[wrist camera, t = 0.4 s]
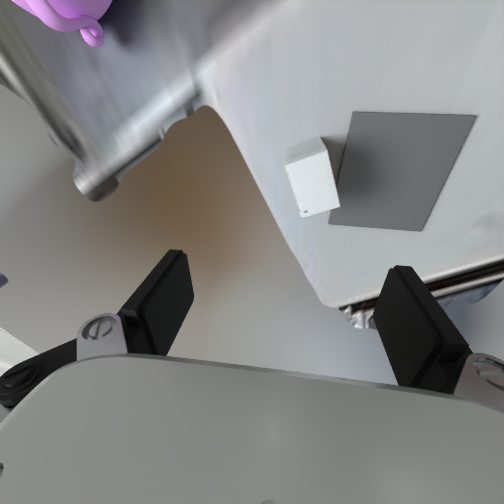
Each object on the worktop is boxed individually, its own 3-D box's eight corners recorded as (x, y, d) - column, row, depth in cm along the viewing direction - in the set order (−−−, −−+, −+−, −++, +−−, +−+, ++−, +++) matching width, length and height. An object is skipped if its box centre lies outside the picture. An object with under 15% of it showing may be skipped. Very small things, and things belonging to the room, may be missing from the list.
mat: (352, 111, 34) (353, 112, 34) (473, 115, 33) (475, 115, 32) (328, 222, 45) (328, 224, 44) (419, 229, 43) (420, 231, 42)
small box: (331, 183, 41) (342, 208, 32) (299, 193, 42) (301, 220, 34) (320, 135, 37) (328, 148, 28) (285, 148, 39) (283, 165, 30)
